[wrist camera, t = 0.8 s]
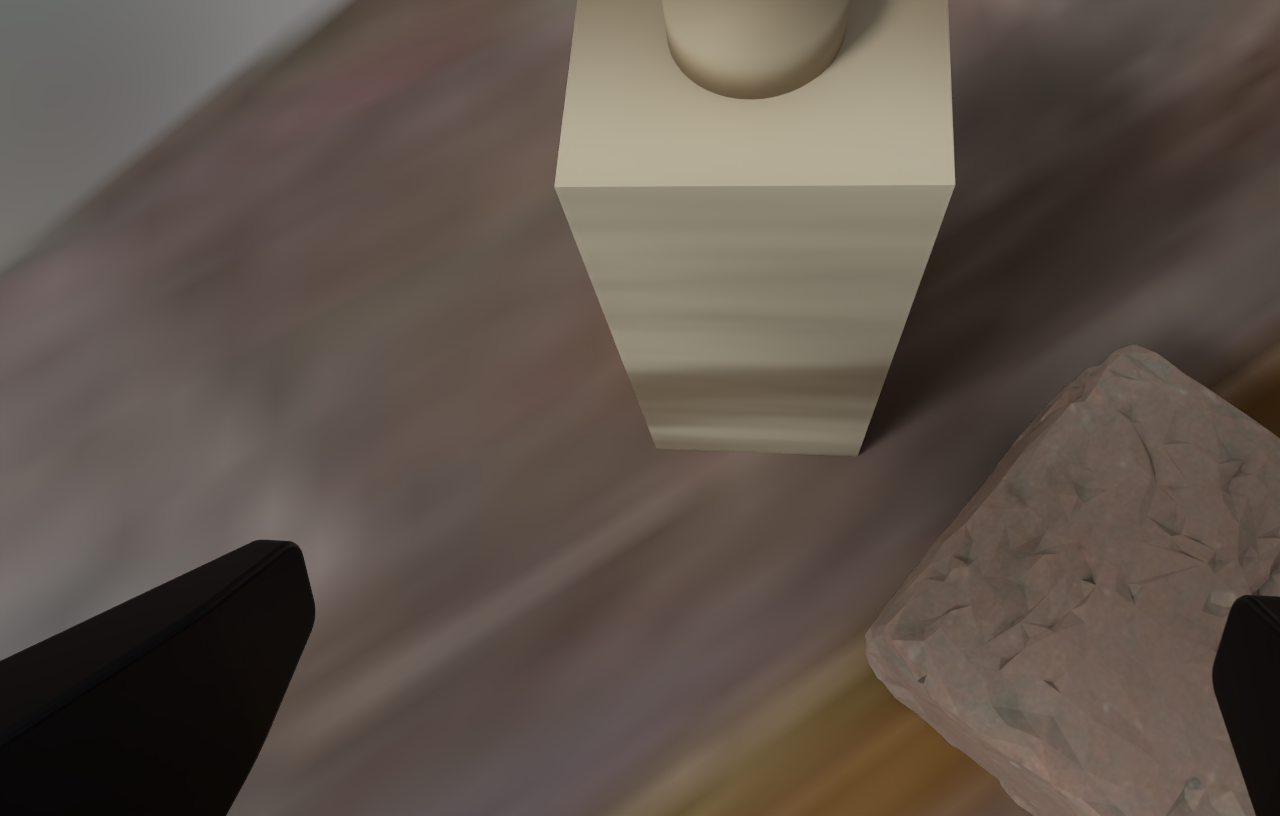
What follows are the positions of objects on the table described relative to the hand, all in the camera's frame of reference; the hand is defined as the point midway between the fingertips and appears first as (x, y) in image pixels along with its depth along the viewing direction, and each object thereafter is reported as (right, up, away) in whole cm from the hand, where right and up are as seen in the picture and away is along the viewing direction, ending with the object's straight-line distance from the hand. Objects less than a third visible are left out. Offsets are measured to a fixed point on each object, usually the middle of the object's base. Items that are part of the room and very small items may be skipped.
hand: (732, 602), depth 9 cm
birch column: (+2, +3, +15) cm, 15 cm away
